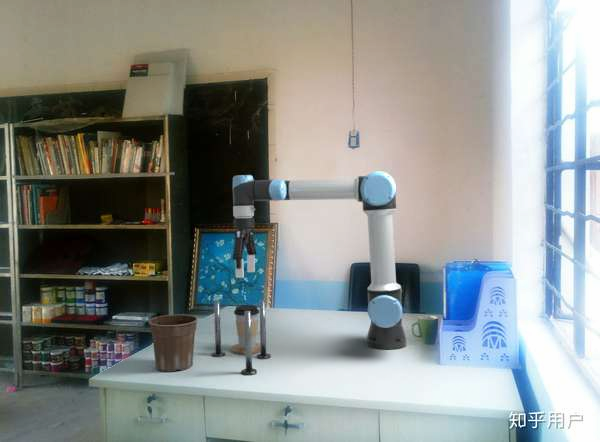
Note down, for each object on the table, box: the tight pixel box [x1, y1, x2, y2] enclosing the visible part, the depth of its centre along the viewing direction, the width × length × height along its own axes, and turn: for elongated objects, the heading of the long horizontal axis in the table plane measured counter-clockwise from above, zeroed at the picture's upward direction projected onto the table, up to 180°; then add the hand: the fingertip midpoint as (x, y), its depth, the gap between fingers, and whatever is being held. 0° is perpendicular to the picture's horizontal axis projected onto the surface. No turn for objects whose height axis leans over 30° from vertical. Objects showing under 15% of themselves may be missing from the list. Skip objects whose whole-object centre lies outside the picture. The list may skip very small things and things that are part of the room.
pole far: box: [210, 299, 226, 358], centre depth 191 cm, size 5×5×20 cm
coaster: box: [230, 342, 261, 356], centre depth 197 cm, size 12×12×1 cm
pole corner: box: [256, 300, 272, 360], centre depth 188 cm, size 5×5×20 cm
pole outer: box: [240, 311, 258, 376], centre depth 171 cm, size 5×5×20 cm
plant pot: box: [148, 314, 199, 373], centre depth 179 cm, size 16×16×16 cm
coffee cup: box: [233, 304, 260, 349], centre depth 197 cm, size 9×9×15 cm
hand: (245, 274), depth 196 cm, fingers open, 13 cm apart
